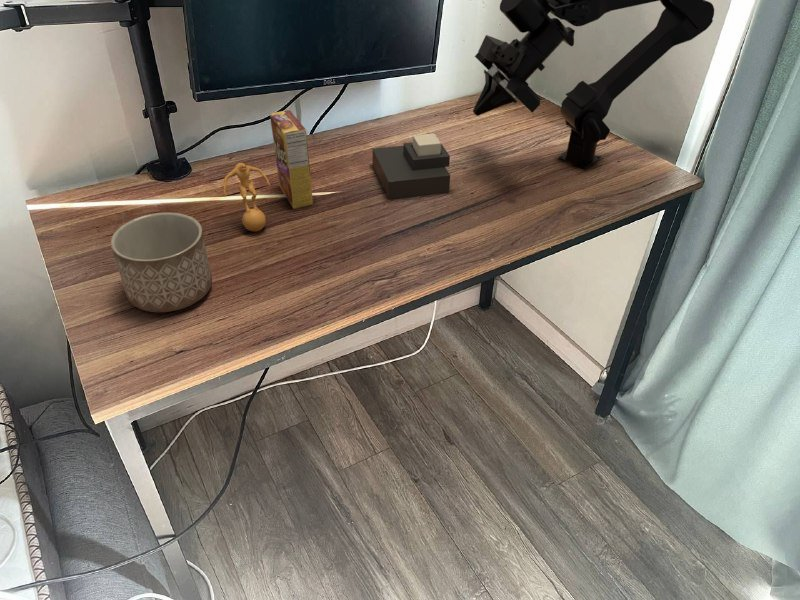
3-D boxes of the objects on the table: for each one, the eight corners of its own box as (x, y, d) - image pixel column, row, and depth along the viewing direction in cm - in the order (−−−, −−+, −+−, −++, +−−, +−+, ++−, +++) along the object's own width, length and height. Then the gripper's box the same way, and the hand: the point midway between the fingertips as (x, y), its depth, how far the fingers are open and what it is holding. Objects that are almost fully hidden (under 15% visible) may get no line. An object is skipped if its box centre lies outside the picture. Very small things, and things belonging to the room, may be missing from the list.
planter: (179, 327, 96) (164, 269, 89) (110, 304, 99) (90, 247, 93) (229, 279, 105) (219, 223, 98) (164, 259, 108) (150, 205, 102)
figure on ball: (236, 241, 113) (226, 179, 105) (224, 225, 117) (213, 163, 109) (281, 228, 116) (274, 167, 109) (268, 212, 120) (261, 152, 113)
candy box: (277, 187, 127) (268, 112, 118) (298, 183, 129) (292, 108, 119) (291, 210, 121) (283, 132, 112) (313, 205, 123) (307, 128, 113)
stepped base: (432, 159, 138) (434, 132, 134) (453, 192, 127) (455, 164, 123) (372, 165, 135) (372, 138, 131) (388, 199, 125) (388, 171, 121)
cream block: (433, 145, 130) (434, 133, 129) (440, 155, 127) (441, 143, 125) (412, 147, 129) (412, 135, 128) (418, 157, 126) (418, 145, 125)
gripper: (488, 3, 122) (430, 69, 127) (532, 38, 109) (466, 111, 114) (522, 41, 129) (466, 102, 134) (568, 78, 116) (504, 145, 121)
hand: (474, 113), depth 125 cm, fingers closed
